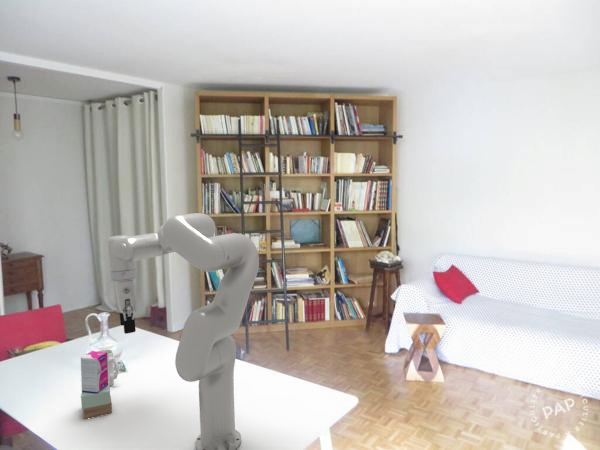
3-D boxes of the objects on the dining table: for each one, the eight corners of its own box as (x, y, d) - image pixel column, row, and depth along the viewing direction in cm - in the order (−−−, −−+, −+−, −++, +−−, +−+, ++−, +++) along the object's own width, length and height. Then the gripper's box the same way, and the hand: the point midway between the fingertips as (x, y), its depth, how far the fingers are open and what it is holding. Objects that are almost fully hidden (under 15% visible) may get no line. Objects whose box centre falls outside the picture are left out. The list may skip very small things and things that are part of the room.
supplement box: (98, 394, 136) (96, 358, 135) (81, 392, 137) (79, 357, 136) (109, 385, 142) (107, 351, 140) (93, 383, 143) (91, 350, 141)
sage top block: (109, 403, 138) (109, 391, 137) (81, 409, 135) (81, 396, 134) (109, 392, 145) (109, 380, 145) (83, 397, 142) (82, 385, 142)
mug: (90, 387, 157) (88, 355, 155) (104, 379, 163) (102, 348, 162) (112, 391, 153) (110, 358, 152) (125, 383, 159) (124, 351, 158)
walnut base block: (112, 414, 139) (111, 402, 138) (84, 421, 135) (83, 409, 135) (110, 403, 146) (109, 392, 145) (84, 409, 142) (83, 397, 142)
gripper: (140, 277, 129) (144, 333, 131) (132, 269, 145) (136, 319, 146) (113, 281, 126) (118, 338, 127) (108, 272, 141) (112, 323, 143)
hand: (127, 328), depth 137 cm, fingers open, 9 cm apart
